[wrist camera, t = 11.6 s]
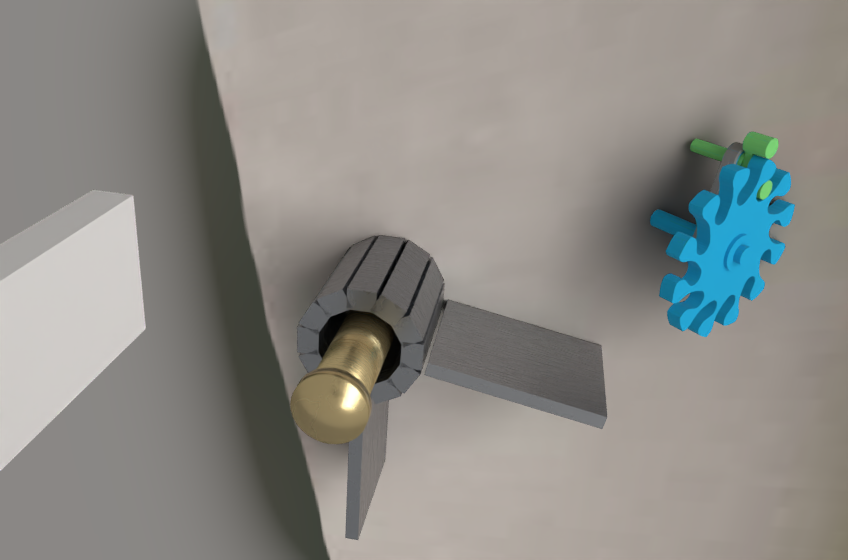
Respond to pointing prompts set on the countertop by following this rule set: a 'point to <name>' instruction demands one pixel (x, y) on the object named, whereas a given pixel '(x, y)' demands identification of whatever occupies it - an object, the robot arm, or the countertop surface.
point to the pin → (343, 380)
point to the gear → (726, 234)
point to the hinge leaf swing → (520, 363)
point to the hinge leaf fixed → (414, 326)
